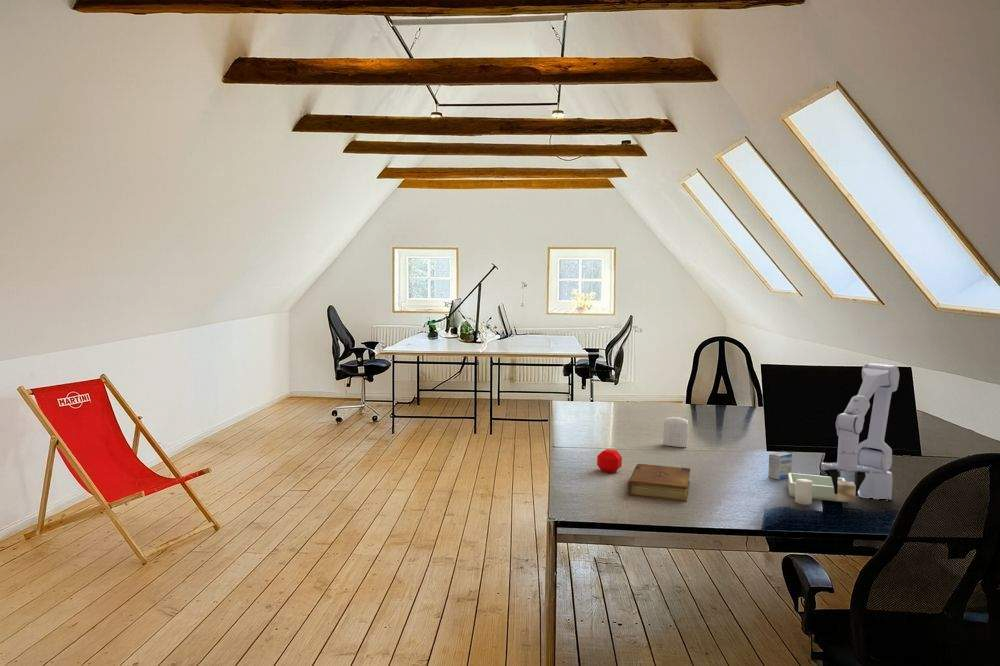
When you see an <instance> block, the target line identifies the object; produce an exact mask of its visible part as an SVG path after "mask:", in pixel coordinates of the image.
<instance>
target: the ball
mask: <svg viewBox="0 0 1000 666" xmlns="http://www.w3.org/2000/svg"><path fill="white" fill-rule="evenodd" d="M596 457H597V459H596V465H597V467H598V469H600V471H601V472H602V471H603V473H608V472H610V473H609V474H613V473H615V472H616V471H617V470H619V469H621V468H622V466H623V465H622V461H623V457H622V455H621V454H620V453H619V451H618V450H615V449H610V448H606V449H603V450H602V451H601V452H600V453H599V454H598V455H597V456H596Z"/></svg>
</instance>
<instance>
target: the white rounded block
mask: <svg viewBox="0 0 1000 666" xmlns="http://www.w3.org/2000/svg"><path fill="white" fill-rule="evenodd" d="M689 425H690V424H689V420H687V419H685V418H682V417H679V416H670V417H665V419H664V422H663V436H662V437H663V438H662V444H663V446H668V447H669V446H670V447H677V448H683V447H684V448H685V447H687V448H688V445H689V430H690V429H689ZM684 448H683V449H684ZM685 449H686V448H685Z"/></svg>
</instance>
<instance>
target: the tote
mask: <svg viewBox="0 0 1000 666" xmlns="http://www.w3.org/2000/svg"><path fill="white" fill-rule="evenodd" d="M796 479H808V480H811V481H813V488H812V500H819V501H831V502H840V503H849V501H840V500H837V498H836V494H835V493H834V486H833V482H832V478H831V476H827V475H819V474H818V475H817V474H816V475H815V474H805V473H798V472H797V473H796V472H791V473H788V478H787V489H788V494H789V495H788V496H789V497H792V498H793V497H794V498H795V489H796ZM838 481H846V479H845V478H844V477H838Z"/></svg>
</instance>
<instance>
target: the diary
mask: <svg viewBox="0 0 1000 666" xmlns="http://www.w3.org/2000/svg"><path fill="white" fill-rule="evenodd" d="M690 475H691V468H690V467H689V468H688V467H677V466H667V465H656V464H646V463H637V464H636V465H635V467H634V469H633V471H632V474H631V476H630V478H629V481H628V483H627V496H628V497H634V498H635V497H636V498H643V499H655V500H665V501H672V502H673V501H674V502H683V503H684V502H685V503H687V502H688V496H689V489H690V485H689V484H690V483H691V481H689V480H690Z"/></svg>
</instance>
